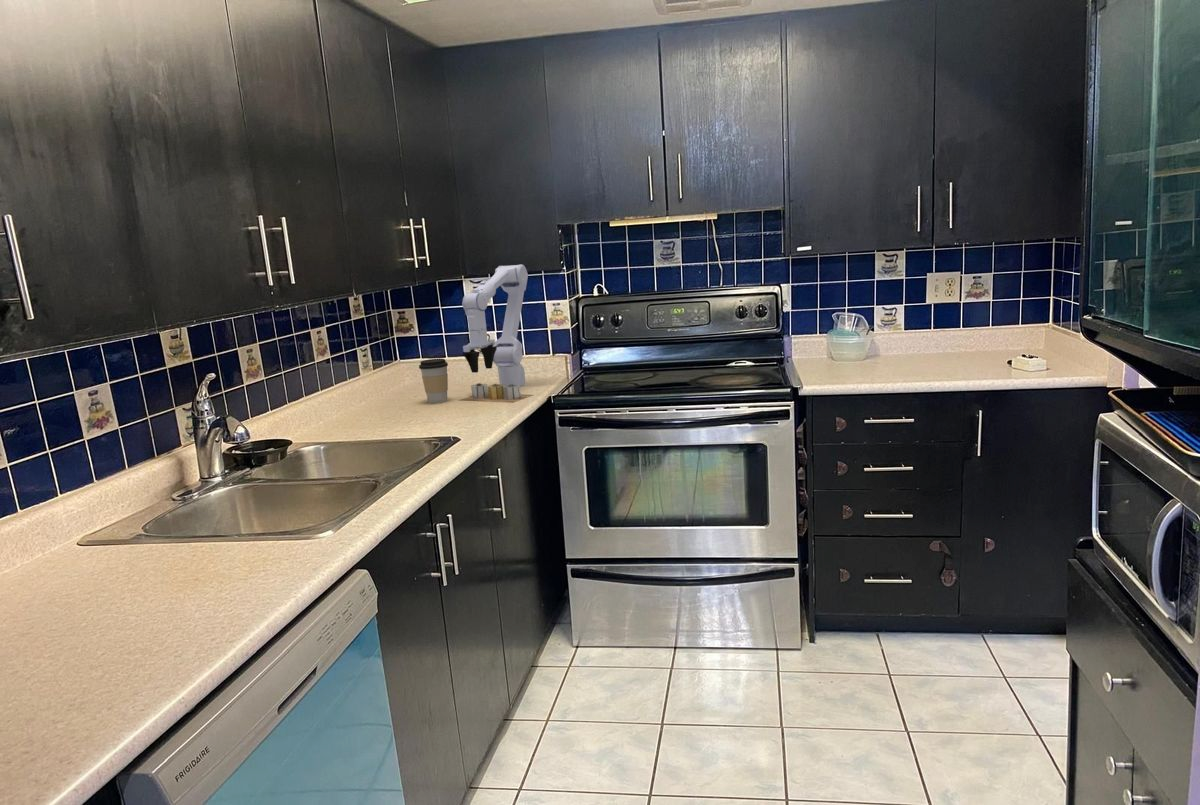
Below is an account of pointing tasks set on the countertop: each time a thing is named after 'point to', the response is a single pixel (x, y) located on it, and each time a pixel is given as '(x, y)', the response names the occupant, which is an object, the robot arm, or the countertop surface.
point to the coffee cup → (435, 379)
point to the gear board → (494, 399)
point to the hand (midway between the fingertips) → (482, 370)
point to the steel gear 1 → (479, 391)
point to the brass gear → (496, 391)
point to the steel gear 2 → (511, 392)
